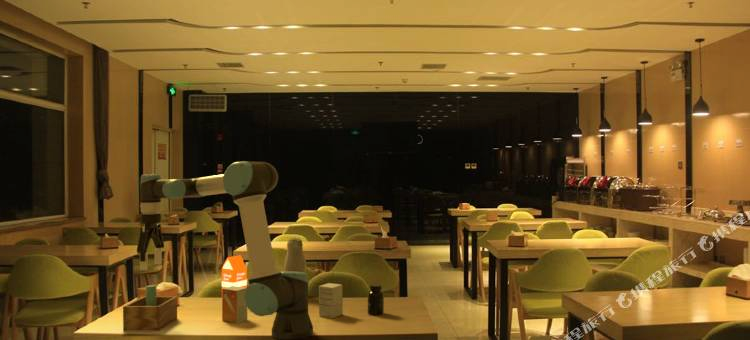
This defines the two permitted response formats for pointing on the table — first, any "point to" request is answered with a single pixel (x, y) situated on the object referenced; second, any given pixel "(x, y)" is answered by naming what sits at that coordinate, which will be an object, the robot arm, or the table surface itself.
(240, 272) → the orange juice
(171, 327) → the table surface
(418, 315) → the table surface
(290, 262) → the beige tapered cylinder
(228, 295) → the small box
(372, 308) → the supplement bottle
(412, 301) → the table surface
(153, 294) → the peg
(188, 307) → the table surface
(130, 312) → the crate
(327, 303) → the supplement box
